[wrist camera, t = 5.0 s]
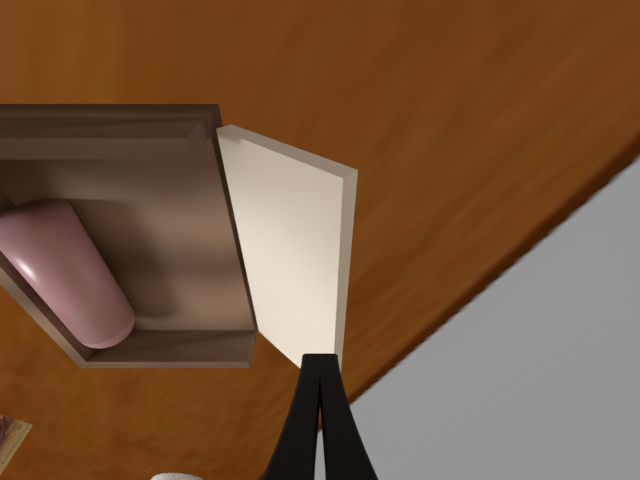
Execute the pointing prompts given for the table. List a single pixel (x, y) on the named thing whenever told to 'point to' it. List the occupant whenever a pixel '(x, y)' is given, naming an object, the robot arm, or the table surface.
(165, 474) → the fruit juice
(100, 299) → the pink tapered cylinder
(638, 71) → the table surface
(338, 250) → the cream flat board
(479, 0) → the table surface
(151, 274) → the brown wooden open box
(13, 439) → the candy box
